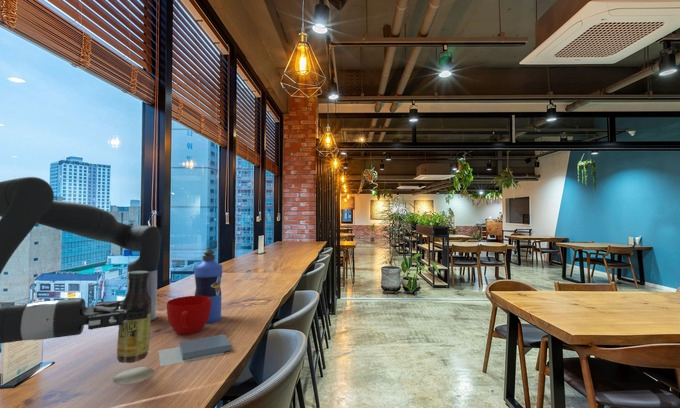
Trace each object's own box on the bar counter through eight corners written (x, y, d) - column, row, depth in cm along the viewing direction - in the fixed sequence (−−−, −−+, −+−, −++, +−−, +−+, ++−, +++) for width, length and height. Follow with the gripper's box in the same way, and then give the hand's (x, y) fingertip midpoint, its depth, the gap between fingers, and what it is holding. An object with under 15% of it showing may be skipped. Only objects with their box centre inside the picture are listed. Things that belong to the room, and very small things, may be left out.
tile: (182, 353, 85) (231, 344, 91) (179, 341, 93) (224, 334, 99) (182, 360, 85) (231, 350, 91) (179, 348, 93) (224, 340, 99)
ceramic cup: (157, 346, 95) (158, 310, 95) (171, 327, 111) (171, 296, 111) (206, 342, 98) (207, 307, 99) (212, 324, 115) (213, 294, 115)
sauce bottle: (109, 362, 75) (113, 272, 76) (134, 352, 81) (137, 269, 82) (132, 366, 73) (136, 274, 74) (155, 355, 79) (159, 270, 80)
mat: (160, 368, 82) (160, 366, 82) (158, 352, 91) (158, 350, 91) (224, 355, 89) (224, 353, 89) (216, 341, 99) (216, 340, 99)
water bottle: (226, 316, 124) (227, 248, 124) (214, 324, 114) (215, 250, 115) (201, 315, 125) (203, 247, 125) (188, 323, 115) (189, 250, 116)
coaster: (105, 380, 75) (105, 378, 75) (141, 366, 82) (141, 364, 82) (125, 389, 71) (125, 387, 71) (161, 374, 78) (161, 372, 78)
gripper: (47, 309, 64) (148, 299, 72) (63, 293, 77) (147, 287, 85) (45, 349, 64) (146, 334, 72) (61, 327, 76) (146, 317, 85)
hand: (147, 309), depth 79 cm, fingers closed on sauce bottle, 6 cm apart
